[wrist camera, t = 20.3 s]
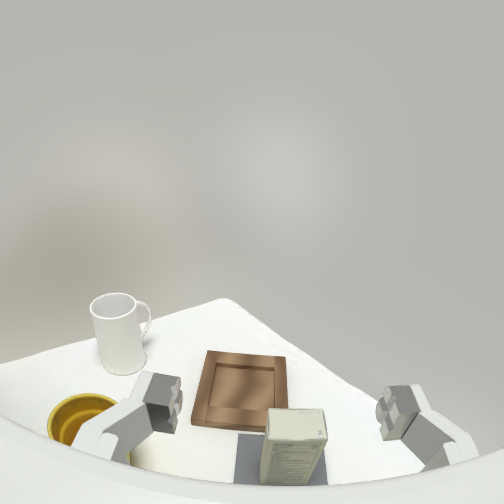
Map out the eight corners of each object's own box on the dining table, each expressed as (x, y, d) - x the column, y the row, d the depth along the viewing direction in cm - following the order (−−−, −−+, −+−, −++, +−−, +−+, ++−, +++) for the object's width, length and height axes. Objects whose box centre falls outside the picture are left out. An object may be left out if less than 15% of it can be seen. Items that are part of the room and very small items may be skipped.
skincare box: (305, 460, 35) (325, 407, 30) (306, 486, 31) (330, 439, 26) (258, 459, 35) (268, 405, 31) (257, 486, 31) (267, 438, 26)
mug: (144, 333, 59) (138, 281, 55) (169, 355, 54) (164, 300, 50) (94, 356, 51) (80, 301, 46) (115, 382, 46) (100, 326, 41)
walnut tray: (191, 424, 40) (190, 418, 40) (207, 356, 55) (207, 350, 55) (287, 433, 40) (288, 427, 40) (284, 363, 55) (285, 356, 54)
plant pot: (118, 424, 38) (102, 380, 34) (159, 471, 32) (146, 433, 28) (61, 451, 31) (35, 410, 27) (97, 506, 25) (68, 474, 21)
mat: (231, 506, 28) (231, 505, 28) (238, 435, 39) (238, 433, 39) (328, 507, 28) (329, 506, 28) (321, 438, 39) (322, 436, 39)
